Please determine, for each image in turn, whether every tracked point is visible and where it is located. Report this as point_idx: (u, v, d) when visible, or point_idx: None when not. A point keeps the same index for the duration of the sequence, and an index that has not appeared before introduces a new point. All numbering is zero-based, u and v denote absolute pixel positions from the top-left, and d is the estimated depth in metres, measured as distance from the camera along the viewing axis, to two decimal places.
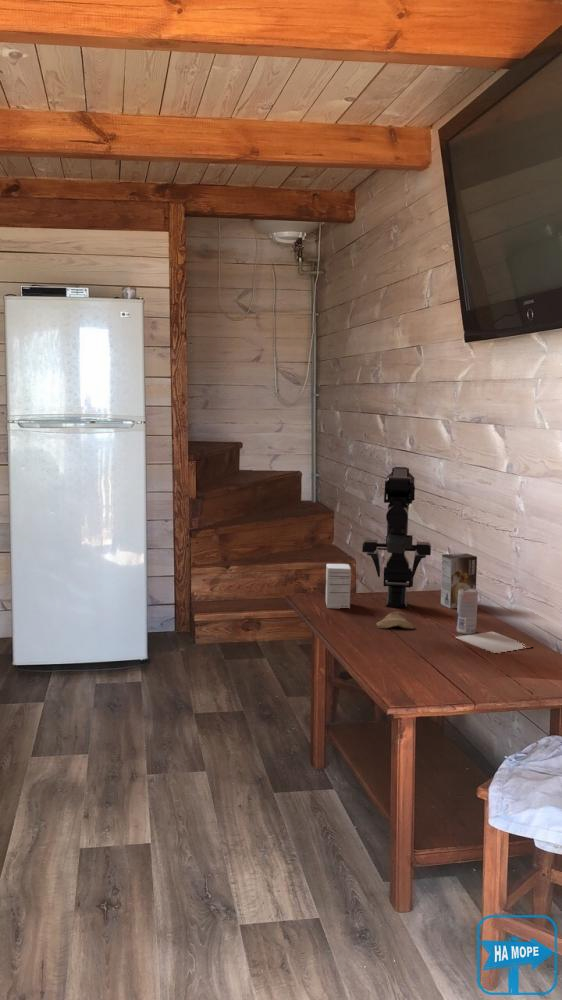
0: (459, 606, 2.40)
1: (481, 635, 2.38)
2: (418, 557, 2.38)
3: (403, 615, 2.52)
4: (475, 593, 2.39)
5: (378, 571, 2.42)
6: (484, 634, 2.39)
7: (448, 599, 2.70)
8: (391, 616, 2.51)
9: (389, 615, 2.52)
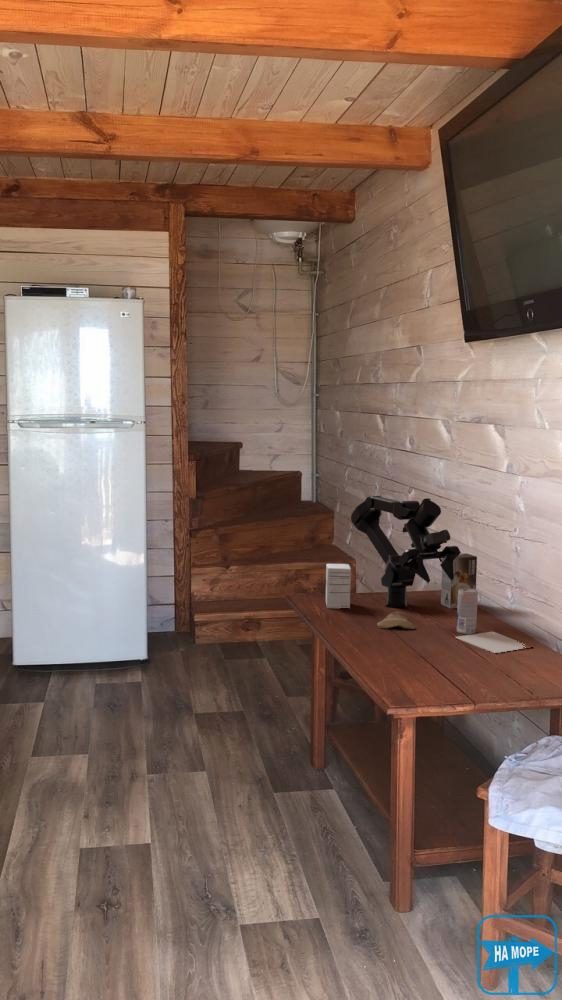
0: (459, 606, 2.40)
1: (481, 635, 2.38)
2: (452, 555, 2.55)
3: (403, 615, 2.52)
4: (475, 593, 2.39)
5: (427, 575, 2.49)
6: (484, 634, 2.39)
7: (448, 599, 2.70)
8: (392, 616, 2.51)
9: (390, 615, 2.52)
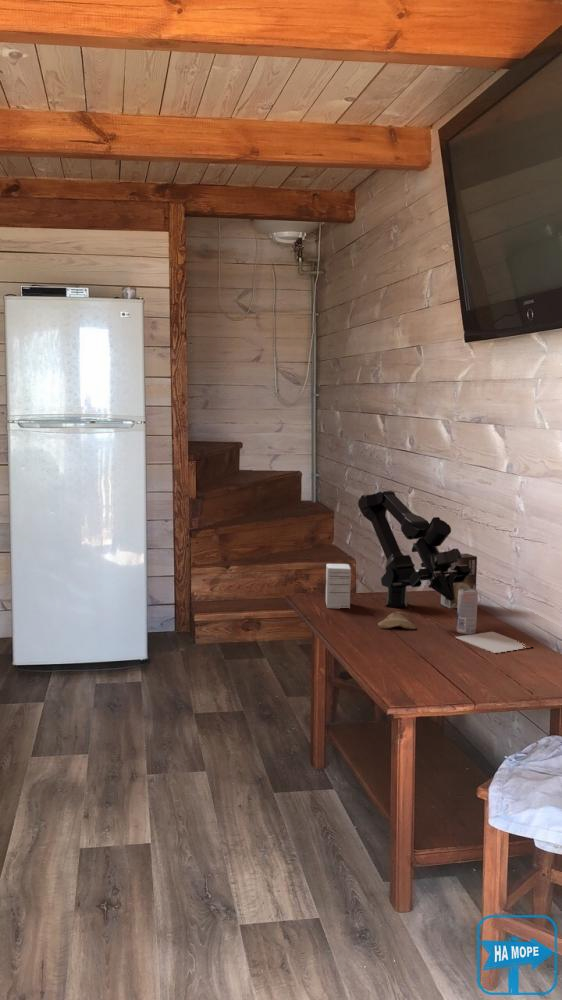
0: (459, 606, 2.40)
1: (481, 635, 2.38)
2: (452, 575, 2.50)
3: (404, 615, 2.52)
4: (475, 593, 2.39)
5: (450, 593, 2.47)
6: (484, 634, 2.39)
7: None
8: (393, 616, 2.51)
9: (391, 615, 2.52)
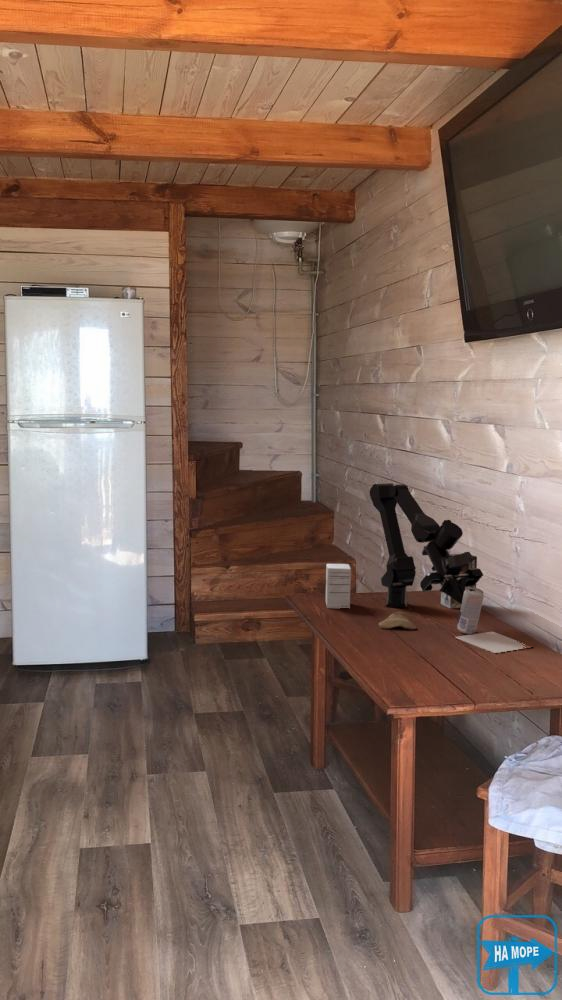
0: (463, 606, 2.39)
1: (481, 635, 2.38)
2: (463, 579, 2.45)
3: (405, 615, 2.52)
4: (481, 596, 2.37)
5: (462, 597, 2.43)
6: (484, 634, 2.39)
7: (448, 599, 2.70)
8: (394, 616, 2.51)
9: (392, 615, 2.52)
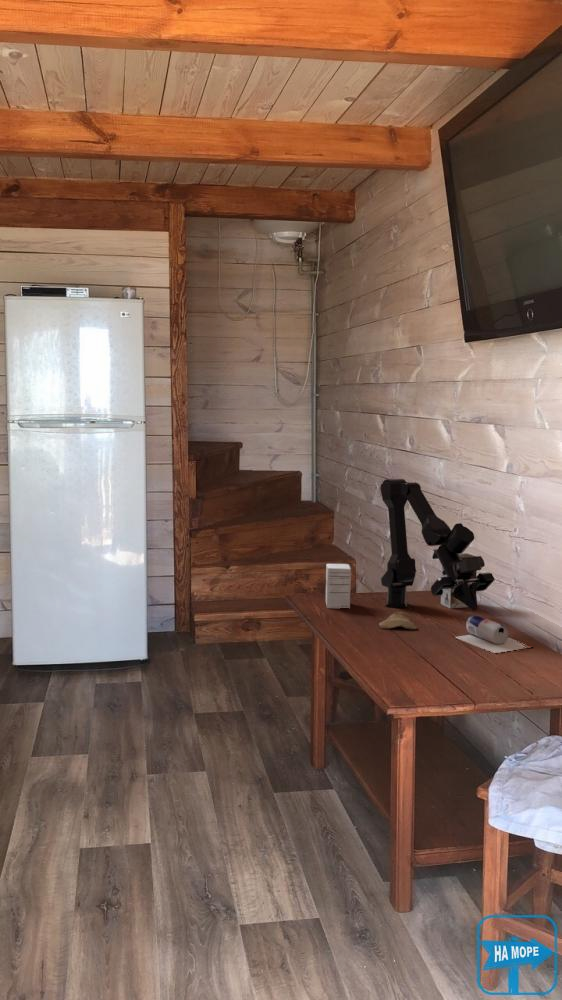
0: (482, 630, 2.32)
1: None
2: (475, 584, 2.41)
3: (406, 616, 2.52)
4: (500, 643, 2.30)
5: (473, 603, 2.39)
6: None
7: (448, 599, 2.70)
8: (394, 616, 2.51)
9: (392, 615, 2.52)
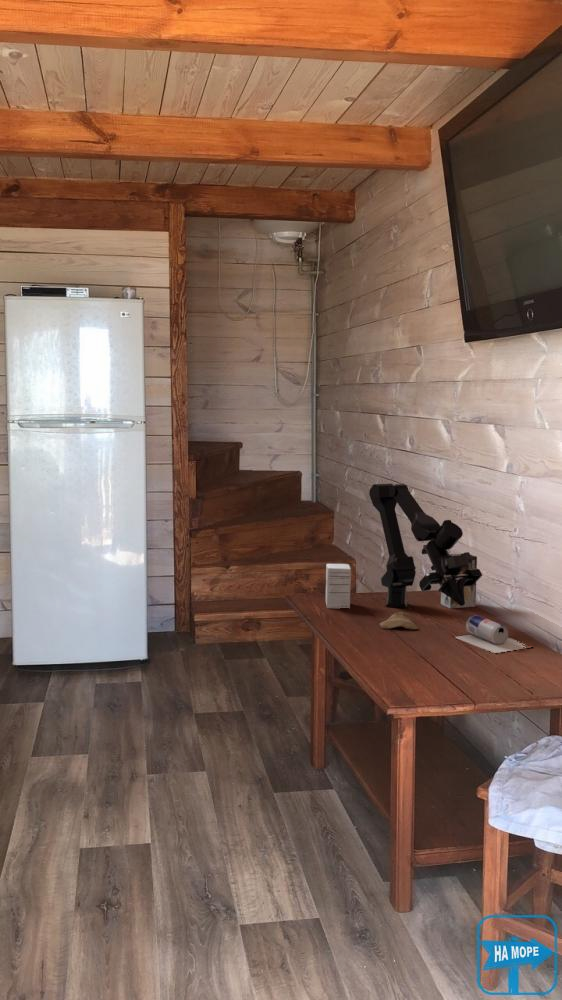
0: (482, 630, 2.32)
1: None
2: (462, 579, 2.45)
3: (407, 616, 2.52)
4: (500, 643, 2.30)
5: (460, 598, 2.43)
6: None
7: (448, 599, 2.70)
8: (395, 616, 2.51)
9: (393, 615, 2.52)
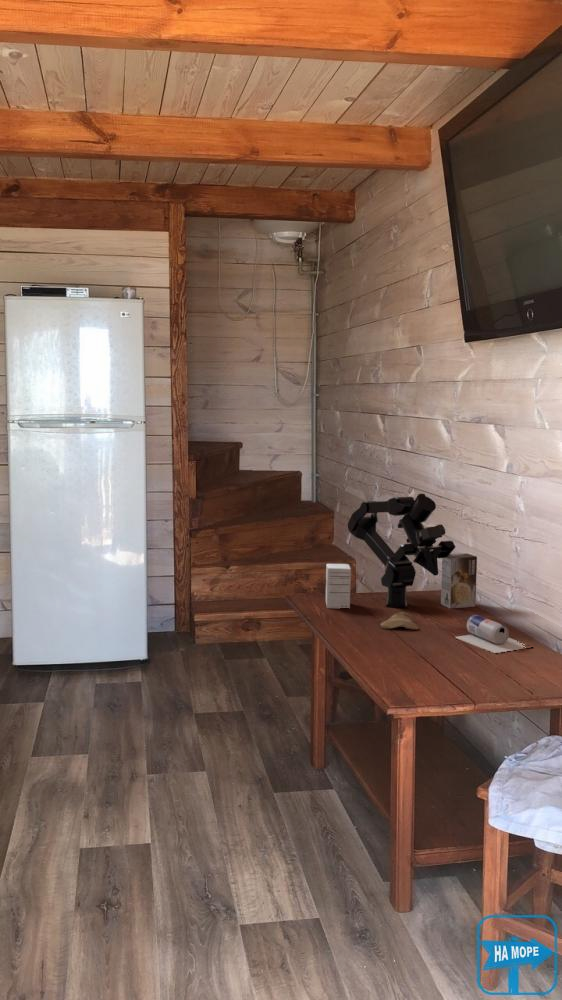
0: (483, 630, 2.32)
1: None
2: (436, 550, 2.56)
3: (408, 616, 2.52)
4: (500, 643, 2.30)
5: (434, 568, 2.53)
6: None
7: (448, 599, 2.70)
8: (396, 617, 2.51)
9: (394, 615, 2.52)
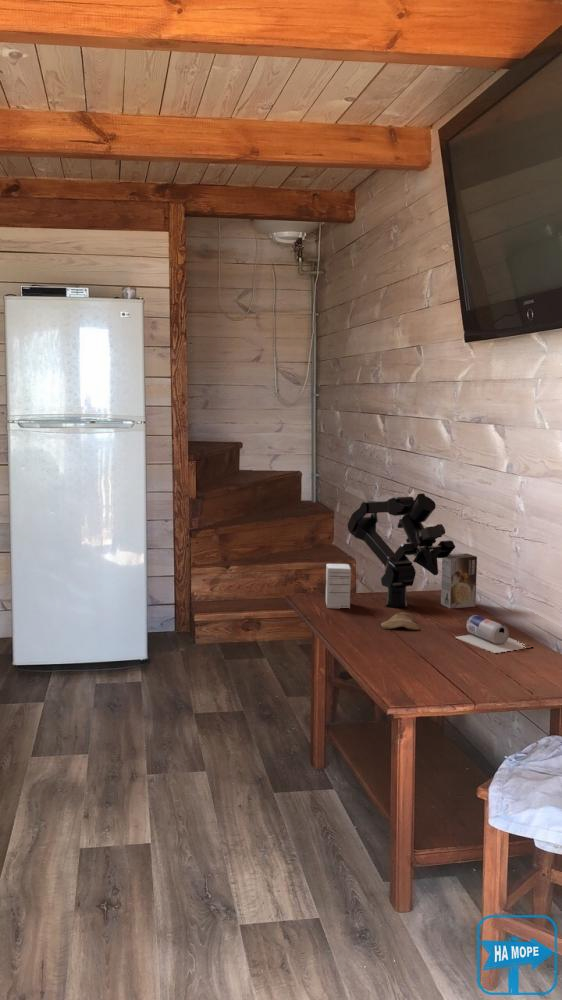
0: (482, 630, 2.32)
1: None
2: (436, 550, 2.56)
3: (409, 616, 2.52)
4: (500, 643, 2.30)
5: (434, 568, 2.53)
6: None
7: (448, 599, 2.70)
8: (397, 617, 2.51)
9: (395, 616, 2.51)
